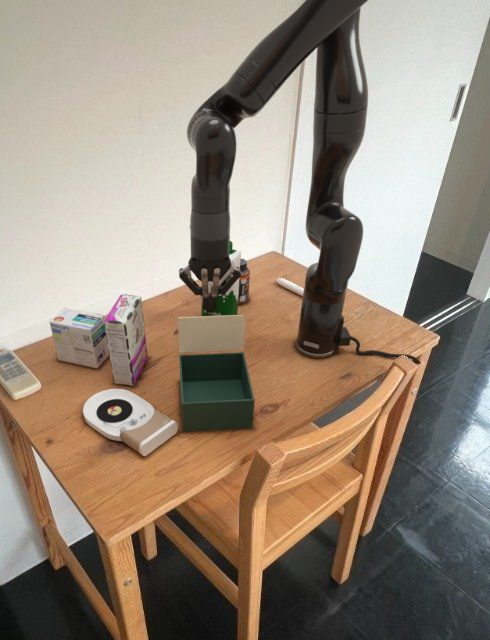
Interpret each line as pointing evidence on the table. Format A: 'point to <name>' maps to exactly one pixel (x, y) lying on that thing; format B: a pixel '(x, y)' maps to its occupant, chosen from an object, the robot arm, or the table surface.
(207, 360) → the dark green open box
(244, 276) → the supplement bottle
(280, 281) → the marker
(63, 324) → the light bulb box
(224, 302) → the milk carton
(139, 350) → the candy bar box
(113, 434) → the record player
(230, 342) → the flap
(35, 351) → the table surface
